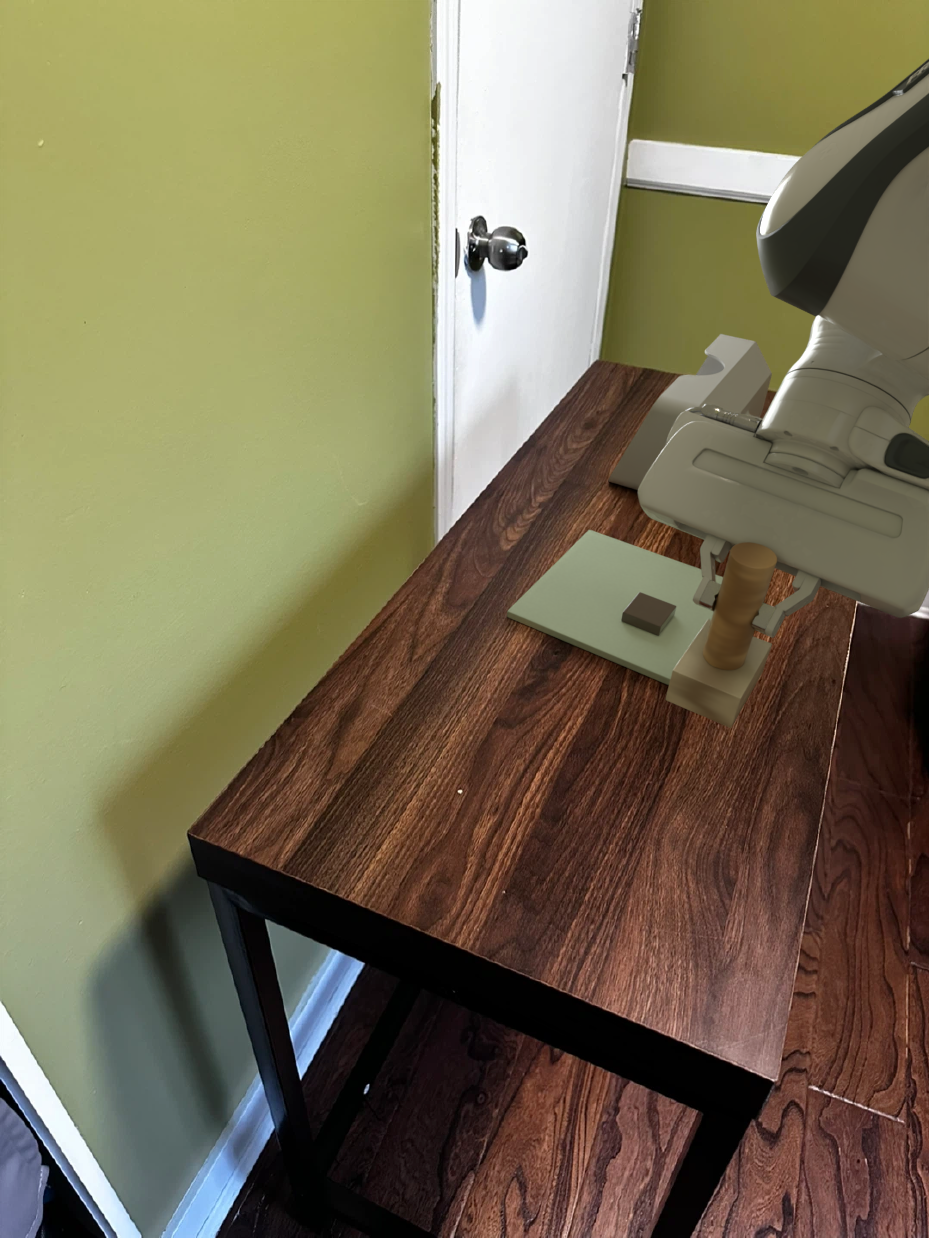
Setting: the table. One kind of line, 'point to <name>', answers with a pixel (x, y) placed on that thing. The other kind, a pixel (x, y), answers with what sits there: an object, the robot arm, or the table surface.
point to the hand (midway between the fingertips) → (732, 619)
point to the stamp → (727, 641)
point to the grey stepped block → (698, 401)
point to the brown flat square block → (648, 613)
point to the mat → (615, 603)
